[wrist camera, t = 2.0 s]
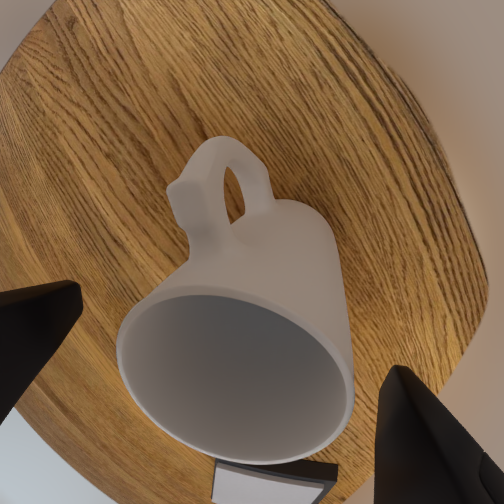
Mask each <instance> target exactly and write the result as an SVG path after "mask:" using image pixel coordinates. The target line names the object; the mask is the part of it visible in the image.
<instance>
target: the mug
mask: <svg viewBox="0 0 504 504" xmlns="http://www.w3.org/2000/svg"><path fill="white" fill-rule="evenodd" d="M226 167H229V168H230V169H231V170H232V171H233V173H234V174H235V176H236V178H237V180H238V182H239V185H240V187H241V190H242V194H243V198H244V203H245V214H244V215H243V216H241V217H240V218H239V219H237V220H236V221H235V222H234V223H233V224H231V225H230V222H229V219H228V216H227V211H226V206H225V200H224V187H223V186H224V174H225V170H226ZM166 192H167V196H168V199H169V202H170V204H171V208H172V211H173V214H174V217H175V219H176V222H177V224H178V225H179V227H180V228H182V229H183V230H184V231H185V232H186V234H187V237H188V241H189V246H190V255H189V259H188V260H187V261H186V262H185V263H184V264H183V265H181V266H180V267H179V268H178V269H177V270H175V271H174V272H173V273H172V274H171V275H170V276H168V277H167V278H166V279H165V280H164V281H163V282H162V283H161V284H159V285H158V286H157V287H156V288H155V289H154V290H153V291H152V292H151V293H150V294H149V295H148V296H147V297H145V298H144V299H142V300H141V301H140V302H138V303H137V304H136V305H135V306H134V307H133V308H132V309H131V310H130V311H129V313H128V314H127V315H126V317H125V318H124V320H123V322H122V324H121V326H120V329H119V332H118V336H117V343H116V355H117V362H118V367H119V371H120V374H121V377H122V379H123V382H124V384H125V386H126V388H127V390H128V392H129V393H130V395H131V396H132V398H133V399H134V401H135V402H136V404H137V405H138V406H139V407H140V409H141V410H142V411H143V412H144V413H145V414H146V415H147V416H148V417H149V418H150V419H151V420H152V421H153V422H154V423H155V424H156V425H157V426H158V427H160V428H161V429H162V430H163V431H165V432H166V433H167V434H169V435H170V436H172V437H173V438H175V439H176V440H178V441H180V442H181V443H183V444H185V445H187V446H189V447H191V448H193V449H195V450H197V451H200V452H202V453H205V454H207V455H210V456H213V457H216V458H219V459H223V460H227V461H232V462H237V463H243V464H254V465H269V464H280V463H286V462H291V461H295V460H298V459H302V458H304V457H307V456H310V455H312V454H314V453H316V452H318V451H320V450H321V449H323V448H325V447H326V446H327V445H329V444H330V443H331V442H333V441H334V440H335V439H336V438H337V437H338V436H339V435H340V434H341V432H342V431H343V430H344V428H345V427H346V425H347V423H348V422H349V419H350V417H351V415H352V411H353V407H354V401H355V388H354V366H353V353H352V343H351V334H350V326H349V319H348V312H347V305H346V298H345V291H344V285H343V278H342V272H341V265H340V259H339V253H338V249H337V245H336V240H335V237H334V234H333V231H332V229H331V227H330V226H329V224H328V222H327V221H326V220H325V219H324V217H323V216H322V215H321V214H320V213H318V212H317V211H316V210H315V209H313V208H312V207H310V206H308V205H306V204H304V203H301V202H298V201H295V200H289V199H276V200H275V198H274V195H273V192H272V188H271V184H270V179H269V174H268V171H267V168H266V166H265V165H264V163H263V162H262V161H261V160H259V159H258V158H257V157H256V156H255V155H254V154H253V153H252V152H251V151H250V150H249V149H248V148H247V147H246V146H245V145H243V144H242V143H241V142H239V141H238V140H236V139H234V138H231V137H229V136H217V137H213V138H211V139H208V140H207V141H205V142H204V143H202V144H201V145H200V146H199V148H198V149H197V150H196V151H195V152H194V154H193V155H192V157H191V158H190V160H189V161H188V163H187V164H186V166H185V168H184V170H183V171H182V173H181V175H180V176H179V178H178V179H176V180H175V181H173V182H172V183H171V184H169V185H168V187H167V189H166Z"/></svg>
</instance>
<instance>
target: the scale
mask: <svg viewBox="0 0 504 504" xmlns="http://www.w3.org/2000/svg"><path fill="white" fill-rule="evenodd" d="M337 476H338V465H335V464H327V463H320V462H313V461H307V460H300V459H298V460H295V461H291V462H286V463H280V464H269V465H254V464H243V463H237V462H232V461H227V460H223V459H219V458H216V459H215V468H214V476H213V485H212V493H211V499H212V502H214V503H217V504H318V503H319V502H320V501H321V500H322V499H323V498H324V496H325V495H326V494H327V493H328V492H329V491H330V490H331V488H332V487H333V486H334V485H335V484H336V482H337Z"/></svg>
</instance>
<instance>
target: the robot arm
mask: <svg viewBox="0 0 504 504" xmlns="http://www.w3.org/2000/svg"><path fill="white" fill-rule="evenodd" d="M82 312H83V301H82V294H81V287H80V285H79V284H78V283H77V282H74V281H71V280H63V281H58V282H52V283H47V284H42V285H36V286H31V287H26V288H20V289H15V290H10V291H4V292H0V425H1V424H2V422H3V421H4V419H5V418H6V417H7V415H8V414H9V412H10V411H11V409H12V408H13V407H14V405H15V404H16V403H17V401H18V400H19V398H20V397H21V396H22V394H23V393H24V392H25V390H26V389H27V388H28V386H29V385H30V384H31V382H32V381H33V380H34V378H35V377H36V376H37V375H38V373H39V372H40V371H41V369H42V368H43V367H44V366H45V364H46V363H47V362H48V361H49V359H50V358H51V357H52V356H53V354H54V353H55V352H56V350H57V349H58V348H59V346H60V345H61V344H62V342H63V341H64V339H65V337H66V336H67V335H68V333H69V332H70V330H71V329H72V327H73V326H74V324H75V323H76V321H77V320H78V318H79V317H80V316H81V314H82ZM483 451H484V450H483V449H482V448H481V446H480V445H479V444H478V443H477V442H476V441H475V440H474V438H473V437H472V436H471V435H470V434H469V433H468V432H467V431H466V429H465V428H464V427H463V426H462V425H461V424H460V423H459V422H458V420H457V419H456V418H455V417H454V416H453V415H452V414H451V413H450V412H449V410H447V408H446V407H445V406H444V405H443V404H442V403H441V402H440V401H439V399H438V398H437V397H436V396H435V395H434V394H433V393H432V392H431V391H430V390H429V389H428V387H427V386H426V385H425V384H424V383H423V382H422V381H421V380H420V379H419V378H418V377H417V376H416V375H415V373H414V372H413V371H412V370H411V369H410V368H409V367H407V366H401V365H394V366H392V367H391V369H390V371H389V373H388V375H387V377H386V379H385V380H384V382H383V384H382V386H381V388H380V392H379V399H378V413H377V425H376V435H375V478H374V480H375V481H374V504H504V473H503V471H501V469H500V468H499V467H498V466H497V465H496V464H495V462H494V461H493V460H492V459H491V458H490V457H489V456H488V454H487V453H486V452H483Z"/></svg>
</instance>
